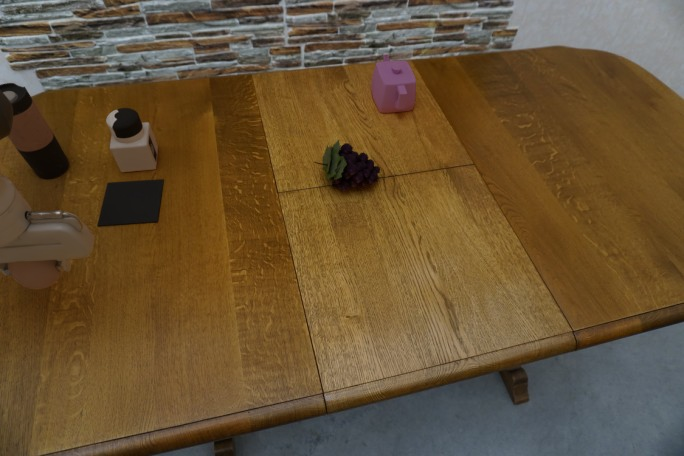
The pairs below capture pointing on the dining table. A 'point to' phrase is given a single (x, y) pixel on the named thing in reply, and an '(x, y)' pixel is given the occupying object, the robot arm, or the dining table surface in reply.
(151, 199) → the mat
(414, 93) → the teapot
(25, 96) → the travel mug
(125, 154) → the container
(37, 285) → the egg
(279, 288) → the dining table surface
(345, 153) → the fruit
